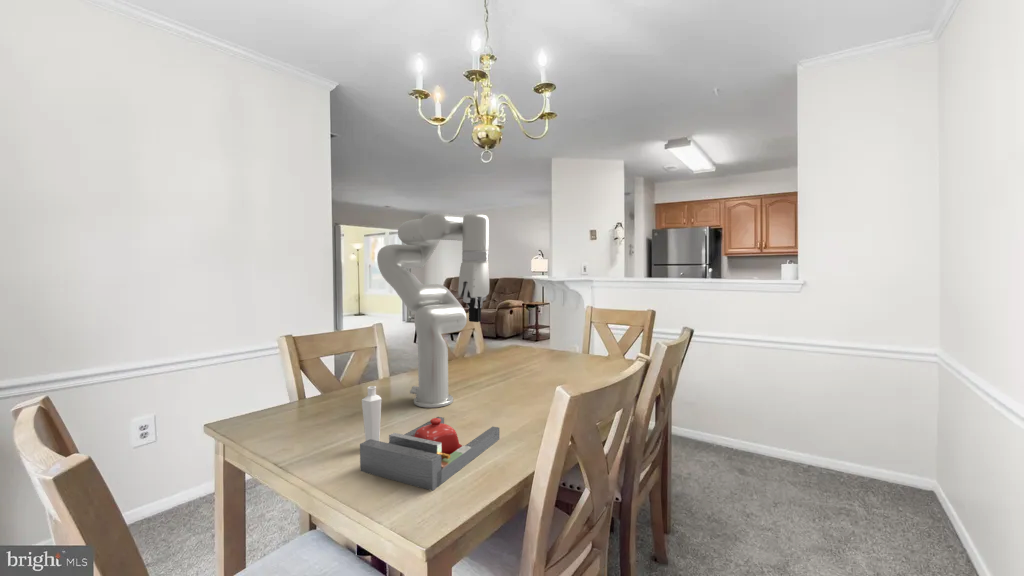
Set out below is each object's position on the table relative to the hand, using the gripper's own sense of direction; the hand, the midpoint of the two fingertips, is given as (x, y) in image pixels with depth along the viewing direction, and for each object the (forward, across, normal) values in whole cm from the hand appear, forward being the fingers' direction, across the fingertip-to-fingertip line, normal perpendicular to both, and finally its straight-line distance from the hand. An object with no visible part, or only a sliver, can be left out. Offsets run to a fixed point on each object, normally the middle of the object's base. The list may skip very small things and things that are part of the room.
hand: (474, 321), depth 126 cm
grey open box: (+28, +25, +6) cm, 38 cm away
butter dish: (+28, +25, +5) cm, 38 cm away
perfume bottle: (+28, +30, -10) cm, 42 cm away
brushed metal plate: (+28, +33, +7) cm, 44 cm away
